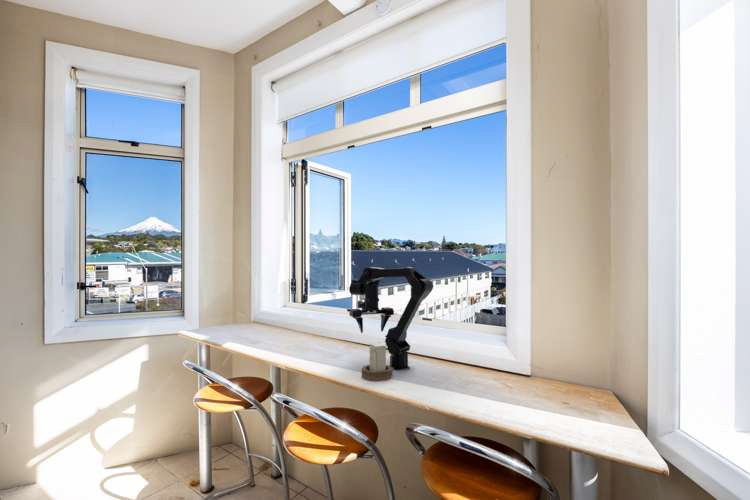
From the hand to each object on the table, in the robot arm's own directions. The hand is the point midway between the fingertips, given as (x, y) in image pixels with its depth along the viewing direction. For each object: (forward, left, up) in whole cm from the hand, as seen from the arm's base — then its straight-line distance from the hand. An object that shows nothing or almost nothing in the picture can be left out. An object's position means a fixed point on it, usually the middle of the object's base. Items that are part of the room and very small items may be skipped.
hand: (371, 332), depth 159 cm
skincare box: (+4, +19, -13) cm, 23 cm away
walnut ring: (+4, +19, -13) cm, 23 cm away
